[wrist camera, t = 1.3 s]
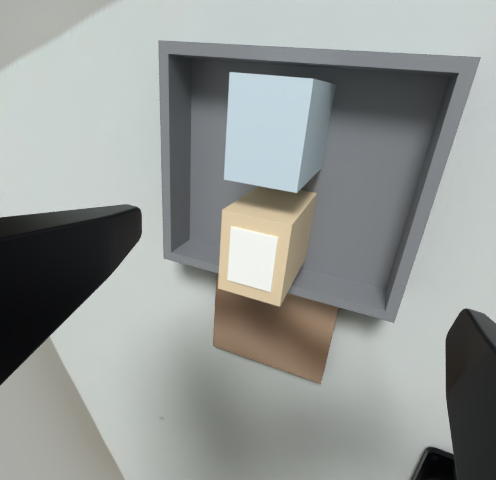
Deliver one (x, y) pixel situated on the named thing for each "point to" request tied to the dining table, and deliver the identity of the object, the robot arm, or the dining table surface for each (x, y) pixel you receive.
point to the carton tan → (264, 242)
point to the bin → (333, 165)
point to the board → (276, 331)
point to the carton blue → (276, 129)
